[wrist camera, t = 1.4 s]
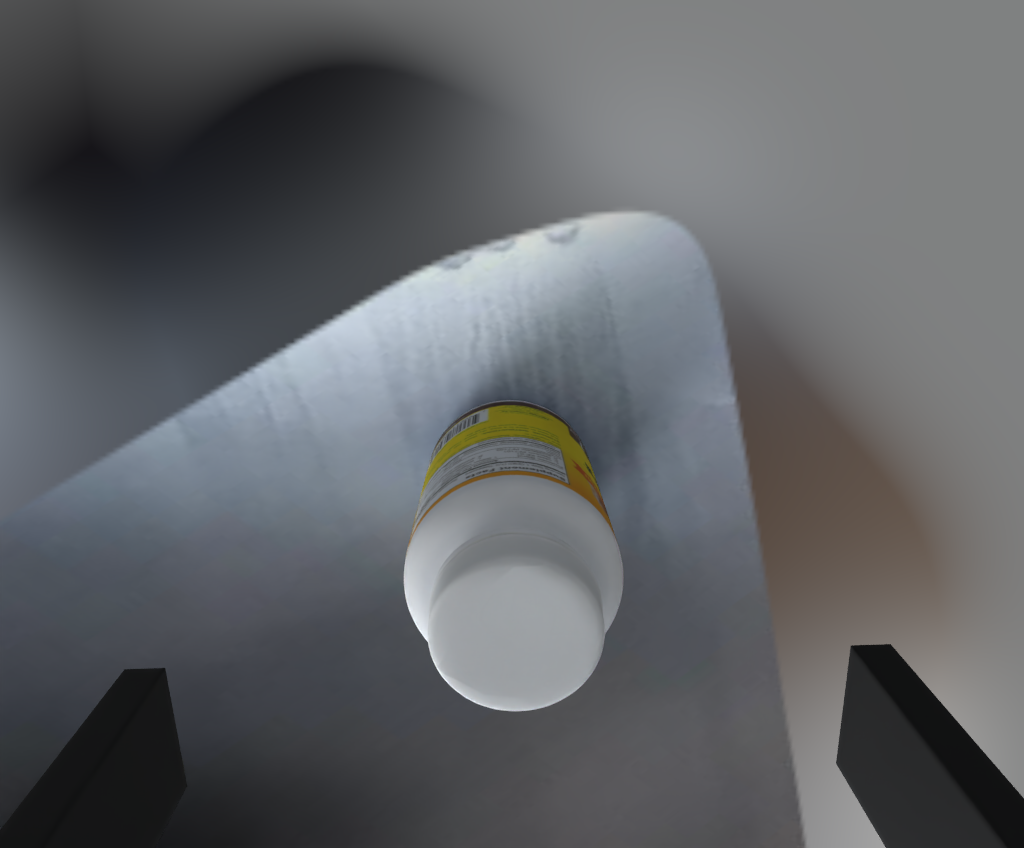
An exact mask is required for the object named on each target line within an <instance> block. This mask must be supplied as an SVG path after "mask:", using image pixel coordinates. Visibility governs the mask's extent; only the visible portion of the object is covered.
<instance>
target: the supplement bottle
mask: <svg viewBox="0 0 1024 848" xmlns="http://www.w3.org/2000/svg"><path fill="white" fill-rule="evenodd" d="M404 589H405V596H406V601H407V605H408V608H409V611H410V614H411V616H412V618H413V620H414V622H415V624H416V626H417V628H418V629H419V631H420V632H421V634H422V635H423V637H424V638H425V639H426V640H427V641H428V645H429V649H430V654H431V656H432V659H433V662H434V664H435V666H436V668H437V669H438V671H439V673H440V674H441V676H442V677H443V678H444V680H445V681H446V682H447V683H448V684H449V685H450V686H451V687H452V688H453V689H454V690H456V691H457V692H458V693H460V694H461V695H462V696H464V697H465V698H467V699H469V700H471V701H473V702H475V703H477V704H479V705H482V706H485V707H489V708H493V709H496V710H505V711H527V710H534V709H538V708H542V707H546V706H549V705H552V704H554V703H557V702H558V701H560V700H562V699H564V698H566V697H567V696H569V695H570V694H572V693H573V692H575V691H576V690H577V689H578V688H579V687H581V686H582V685H583V684H584V683H585V681H586V680H587V679H588V678H589V677H590V676H591V674H592V672H593V671H594V669H595V668H596V666H597V664H598V662H599V659H600V657H601V654H602V650H603V645H604V639H605V633H606V632H607V631H608V629H609V627H610V626H611V624H612V622H613V620H614V618H615V616H616V613H617V610H618V608H619V604H620V601H621V597H622V592H623V564H622V559H621V554H620V550H619V546H618V543H617V540H616V537H615V534H614V531H613V528H612V525H611V523H610V520H609V517H608V514H607V511H606V508H605V505H604V502H603V499H602V496H601V493H600V490H599V487H598V484H597V481H596V478H595V475H594V472H593V469H592V467H591V463H590V461H589V458H588V455H587V452H586V450H585V448H584V446H583V444H582V442H581V440H580V438H579V437H578V435H577V434H576V432H575V431H574V430H573V429H572V427H571V426H570V425H569V424H568V423H567V422H566V421H565V420H564V419H562V418H561V417H560V416H558V415H557V414H556V413H554V412H552V411H551V410H549V409H547V408H544V407H542V406H540V405H537V404H534V403H530V402H525V401H518V400H502V401H495V402H490V403H486V404H483V405H480V406H477V407H475V408H473V409H471V410H469V411H467V412H466V413H464V414H462V415H461V416H460V417H458V418H457V419H456V420H455V421H454V422H453V423H452V424H451V425H450V426H449V427H448V428H447V429H446V430H445V431H444V433H443V434H442V435H441V437H440V439H439V441H438V442H437V444H436V446H435V448H434V450H433V453H432V456H431V459H430V462H429V466H428V470H427V474H426V478H425V482H424V485H423V489H422V493H421V497H420V501H419V505H418V509H417V512H416V516H415V520H414V524H413V529H412V533H411V537H410V541H409V545H408V549H407V553H406V560H405V568H404Z"/></svg>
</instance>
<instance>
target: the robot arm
mask: <svg viewBox="0 0 1024 848" xmlns="http://www.w3.org/2000/svg"><path fill="white" fill-rule="evenodd" d="M841 722H842V723H841V729H840V737H839V745H838V754H837V761H836V763H837V766H838V767H839V769H840V771H841V772H842V774H843V776H844V777H845V779H846V781H847V783H848V784H849V786H850V787H851V789H852V791H853V793H854V794H855V796H856V798H857V799H858V801H859V803H860V804H861V806H862V808H863V810H864V811H865V813H866V815H867V816H868V818H869V820H870V821H871V823H872V825H873V826H874V828H875V830H876V832H877V833H878V835H879V837H880V838H881V840H882V842H883V843H884V845H885V847H886V848H1024V798H1023V797H1022V796H1021V795H1020V794H1019V792H1018V791H1017V790H1016V789H1015V788H1014V787H1013V785H1012V784H1011V783H1010V782H1009V781H1008V780H1007V779H1006V777H1005V776H1004V775H1003V774H1002V773H1001V772H1000V770H999V769H998V768H997V767H996V766H995V765H994V764H993V762H992V761H991V760H990V759H989V758H988V757H987V756H986V754H985V753H984V752H983V751H982V750H981V749H980V747H979V746H978V745H977V744H976V743H975V742H974V741H973V739H972V738H971V737H970V736H969V735H968V733H967V732H966V731H965V730H964V729H963V728H962V726H961V725H960V724H959V723H958V722H957V721H956V720H955V719H954V717H953V716H952V715H951V714H950V713H949V712H948V710H947V709H946V708H945V707H944V706H943V705H942V703H941V702H940V701H939V700H938V699H937V698H936V696H935V695H934V694H933V693H932V692H931V691H930V690H929V688H928V687H927V686H926V685H925V684H924V683H923V681H922V680H921V679H920V678H919V677H918V676H917V675H916V673H915V672H914V671H913V670H912V669H911V667H910V666H908V664H907V663H906V662H905V661H904V659H903V658H902V657H901V656H900V655H899V654H898V652H897V651H896V650H895V649H894V648H893V647H892V646H891V644H885V645H855V646H851V649H850V657H849V666H848V673H847V681H846V689H845V697H844V706H843V713H842V721H841ZM186 787H187V783H186V777H185V772H184V767H183V761H182V756H181V751H180V745H179V740H178V735H177V729H176V724H175V719H174V713H173V708H172V703H171V697H170V692H169V687H168V681H167V676H166V671H165V668H154V669H125V670H124V671H123V672H122V673H121V675H120V676H119V677H118V679H117V680H116V681H115V683H114V684H113V685H112V686H111V688H110V689H109V690H108V692H107V693H106V694H105V695H104V697H103V698H102V699H101V701H100V702H99V703H98V705H97V706H96V707H95V708H94V710H93V711H92V712H91V714H90V715H89V716H88V717H87V719H86V720H85V721H84V723H83V724H82V725H81V726H80V728H79V729H78V730H77V732H76V733H75V734H74V736H73V737H72V738H71V739H70V741H69V742H68V743H67V745H66V746H65V747H64V748H63V750H62V751H61V752H60V754H59V755H58V756H57V758H56V759H55V760H54V761H53V763H52V764H51V765H50V767H49V768H48V769H47V770H46V772H45V773H44V774H43V776H42V777H41V778H40V780H39V781H38V782H37V783H36V785H35V786H34V787H33V789H32V790H31V791H30V792H29V794H28V795H27V796H26V798H25V799H24V800H23V802H22V803H21V804H20V805H19V807H18V808H17V809H16V811H15V812H14V813H13V814H12V816H11V817H10V818H9V820H8V821H7V822H6V823H5V825H4V826H3V827H2V829H1V830H0V848H155V847H156V845H157V843H158V841H159V839H160V837H161V835H162V833H163V831H164V829H165V828H166V826H167V824H168V822H169V820H170V818H171V816H172V814H173V812H174V810H175V808H176V806H177V804H178V802H179V801H180V799H181V797H182V795H183V793H184V791H185V789H186Z"/></svg>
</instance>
